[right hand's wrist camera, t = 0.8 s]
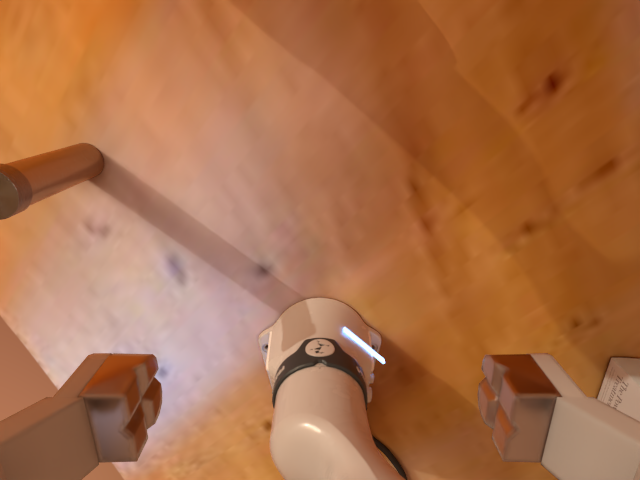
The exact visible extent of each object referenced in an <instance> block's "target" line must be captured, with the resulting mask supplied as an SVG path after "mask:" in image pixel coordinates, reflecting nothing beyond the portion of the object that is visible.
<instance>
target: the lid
mask: <svg viewBox="0 0 640 480" xmlns="http://www.w3.org/2000/svg"><path fill="white" fill-rule="evenodd" d="M32 197H33V192H32V187H31V185H30V183H29V181H28V179H27V178H26V177H25V175H24V174H23V173H22V172H20V171H19V170H18V169H16V168H14V167H12V166H10V165H6V164H0V220H1V219H6V218H9V217H11V216H13V215H15V214H18V213H20V212H22V211H24V210H25V209H27V208H28V207H29V205H30V203H31V201H32Z"/></svg>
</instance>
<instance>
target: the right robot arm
mask: <svg viewBox="0 0 640 480" xmlns="http://www.w3.org/2000/svg"><path fill="white" fill-rule="evenodd" d="M266 345H268V347H267V346H266ZM372 345H374V346H373V347H372ZM259 346H260V349H261V353H262V356H263V360H264V363H265V366H266V370H267V373H268V377H269V380H270V384H271V387H272V394H273V397H272V402H273V407H274V414H273V422H272V429H271V436H270V452H271V456H272V459H273V462H274V464H275V466H276V467H277V469H278V471H279V472H280V474H281V475H282V477H283V478H284V479H285V480H407V478H406V475H405V472H404V470H403V469H402V467H401V465H400V464H399V463H398V461H397V460H396V458H395V457H394V456H393V454H392V453H391V452H390V451H389V450H388V449H387V448H386V447H385V446H384V445H383V444H382V443H380V442H379V441H378V440H377V439H375V438H374V437H373V436H372V434H371V431H370V427H369V423H368V418H367V413H366V410H367V403H369V402H371V399H372V387H369V384H373V382H374V374H372V373H373V370H374V366H375V363H376V360H377V359H378V360H379V361H380V362H382V363H383V364H384V363H385V360H384V358H382V357H381V356H380V355H379V354H378V353H379V349H380V346H381V335H380V334H379V333H378V332H377V331H376V330H374V329H372V328H371V327H369V326H367V325H366V324H365V323H364V322H363V320H362V319H361V317H360V316H359V315H358V314H357V313H356V311H354V310H353V309H352V308H351V307H349V306H348V305H346V304H344V303H342V302H340V301H337V300H334V299H329V298H311V299H306V300H303V301H300V302H298V303H296V304H294V305H292V306H291V307H289V308H288V309H287V310H286V311H285V312H284V313H283V314H282V315H281V316H280V317H279V319H278V320H277V322H276V323H275V324H274V325H273V326H271V327H269V328H268V329H266V330H264V331H263V332H262V333H261V334H260V335H259ZM157 371H158V364H157V359H156V357H155V356H154V355H153V354H111V353H94V354H91V355H88V356H87V357H86V359H85V360H84V361H83V362H82V363H81V365H80V366H79V367H78V368H77V369H76V370H75V372H74V373H73V374H72V375H71V376H70V378H69V379H68V380H67V381H66V382H65V384H64V385H63V386H62V387H61V388H60V389H59V391H58V392H57V393H56V394H55V395H54V397H46V398H44V399H42V400H40V401H38V402H36V403H35V404H33V405H31V406H29V407H27V408H25V409H23V410H21V411H19V412H17V413H16V414H14V415H12V416H10V417H8V418H6V419H4V420H2V421H0V480H82V479H83V478H84V477H85V476H86V475H87V474H89V473H90V472H91V471H92V470H93V469H94V468H96V467H97V466H98V465H99V462H132V461H137V460H138V458H139V456H140V454H141V452H142V450H143V448H144V446H145V443H146V441H147V439H148V435H147V429H148V428H149V427H151V426H152V425H154V424H155V423H156V420H157V418H158V416H159V413H160V409H161V404H162V388H161V383H160V382H159V381H158V380H157V379H156V378H155V377H154V376H155V374H156V372H157ZM482 371H483V372H484V374H485V376H486V377H485V378H484V379H483V380H482V381H481V382H480V383H479V389H478V404H479V409H480V413H481V416H482V418H483V420H484V423H485V424H486V425H488V426H489V427H491V428H492V429H493V435H492V439H493V441H494V443H495V446H496V448H497V450H498V452H499V454H500V456H501V458H502V460H503V461H507V462H541V465H542V466H543V467H545V468H546V469H547V470H548V471H549V472H550V473H552V474H553V475H554V476H555V477H556V478H557V479H559V480H640V421H638V420H636V419H634V418H632V417H630V416H628V415H626V414H624V413H623V412H621V411H619V410H617V409H615V408H613V407H611V406H609V405H607V404H605V403H603V402H602V401H600V400H598V399H596V398H594V397H586V395H585V394H584V393H583V392H582V391H581V389H580V388H579V387H578V386H577V385H576V384H575V382H574V381H573V380H572V379H571V378H570V376H569V375H568V374H567V373H566V372H565V371H564V369H563V368H562V367H561V366H560V365H559V363H558V362H557V361H556V360H555V359H554V358H553V356H552V355H550V354H548V353H536V354H514V355H485V357H484V359H483V363H482ZM377 448H378V449H380V450H381V451H382V452H383V453H384V454H385V455H386V456H387V457H388V459H389V460H390V461H391V463H392V464H393V465H394V467H395V468H396V469H397V471H398V472H397V471H396V470H394V469H393V467H392V466H391V465H390V464H389V463H388V462H387V461H386V460H385V458H384V457H383V456H382V454H381V453H380V452H379V450H378V449H377Z"/></svg>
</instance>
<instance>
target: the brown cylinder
mask: <svg viewBox="0 0 640 480" xmlns="http://www.w3.org/2000/svg"><path fill="white" fill-rule="evenodd" d="M6 165H10V166H12V167H14V168H16V169H18V170H19V171H20V172H22V173H23V174H24V175H25V177H26V178H27V179H28V181H29V183H30V185H31V187H32V192H33V197H32V201H31V203H30V205H32V204H34V203H36V202H39V201H41V200H43V199H45V198H48V197H50V196H52V195H54V194H57V193H59V192H61V191H63V190H66V189H68V188H70V187H73V186H75V185H77V184H79V183H82V182H84V181H86V180H88V179H91V178H93V177H95V176H97V175H99V174H100V173H101V172H102V170H103V167H104V160H103V157H102V154H101V153H100V152H99V150H98V149H97V148H95V147H94V146H92V145H90V144H87V143H80V144H76V145H72V146H69V147H65V148H61V149H58V150H54V151H51V152H47V153H43V154H40V155H36V156H32V157H29V158H25V159H22V160H18V161H14V162H11V163H7V164H6Z"/></svg>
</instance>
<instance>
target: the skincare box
mask: <svg viewBox="0 0 640 480" xmlns="http://www.w3.org/2000/svg"><path fill="white" fill-rule="evenodd" d="M597 399H598V400H600V401H602V402H603V403H605V404H607V405H609V406H611V407H613V408H615V409H617V410H619V411H621V412H623V413H624V414H626V415H628V416H630V417H632V418H634V419H636V420H638V421H640V359H635V358H611V360H610V363H609V366H608V369H607V372H606V374H605V377H604V380H603V383H602V386H601V389H600V392H599V395H598V398H597Z"/></svg>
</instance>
